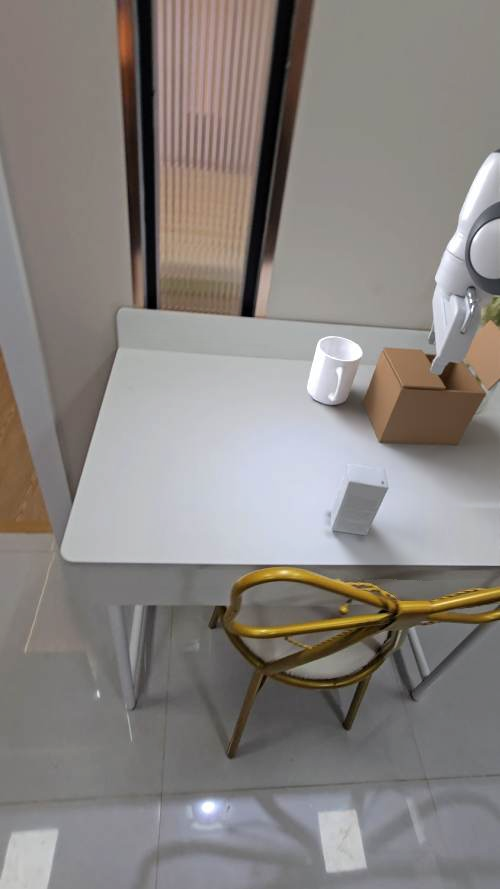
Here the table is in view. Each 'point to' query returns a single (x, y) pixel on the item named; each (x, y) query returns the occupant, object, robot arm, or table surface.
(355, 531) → the cosmetic box
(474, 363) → the flap
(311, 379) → the mug
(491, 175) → the robot arm
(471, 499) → the table surface
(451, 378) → the carton
